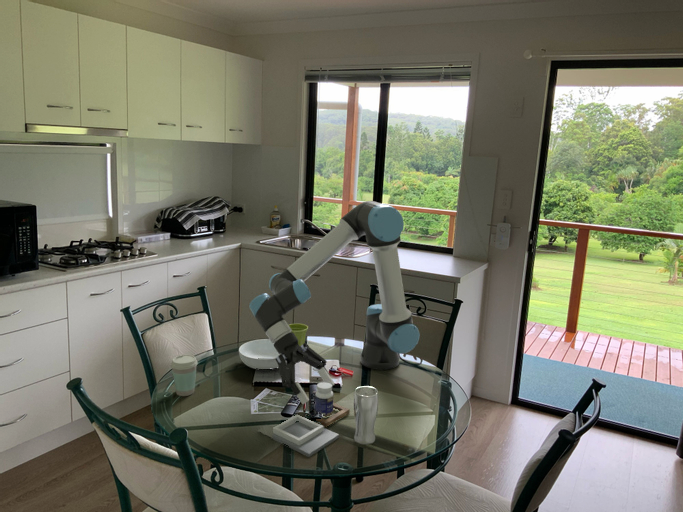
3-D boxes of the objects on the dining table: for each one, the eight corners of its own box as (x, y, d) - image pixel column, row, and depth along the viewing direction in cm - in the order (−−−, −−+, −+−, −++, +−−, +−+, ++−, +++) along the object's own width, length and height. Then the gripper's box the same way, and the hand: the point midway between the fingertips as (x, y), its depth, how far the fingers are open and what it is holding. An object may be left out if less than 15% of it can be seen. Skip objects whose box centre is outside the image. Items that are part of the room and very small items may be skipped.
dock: (288, 415, 169) (288, 407, 168) (338, 437, 157) (339, 429, 156) (258, 431, 159) (258, 424, 158) (309, 457, 147) (309, 448, 146)
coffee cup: (190, 384, 188) (189, 352, 186) (203, 392, 182) (202, 359, 180) (167, 391, 182) (165, 358, 180) (179, 400, 176) (178, 366, 174)
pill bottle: (330, 420, 166) (331, 390, 164) (312, 417, 168) (313, 388, 166) (334, 411, 172) (335, 382, 170) (317, 409, 173) (317, 380, 171)
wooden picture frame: (321, 402, 178) (321, 398, 177) (349, 413, 171) (349, 409, 170) (297, 415, 169) (297, 411, 168) (326, 427, 162) (326, 423, 162)
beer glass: (351, 432, 160) (352, 385, 156) (374, 432, 160) (376, 385, 157) (353, 445, 153) (355, 397, 150) (378, 445, 153) (380, 396, 150)
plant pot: (280, 347, 224) (280, 327, 222) (295, 341, 231) (295, 321, 229) (297, 353, 218) (297, 332, 216) (312, 346, 226) (312, 326, 224)
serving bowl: (304, 362, 210) (305, 345, 208) (271, 381, 192) (271, 363, 191) (262, 350, 220) (262, 334, 219) (227, 368, 202) (226, 350, 201)
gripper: (299, 333, 186) (334, 385, 181) (249, 355, 165) (287, 415, 160) (312, 321, 182) (348, 374, 177) (262, 343, 161) (301, 403, 156)
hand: (319, 394), depth 168 cm, fingers open, 13 cm apart
